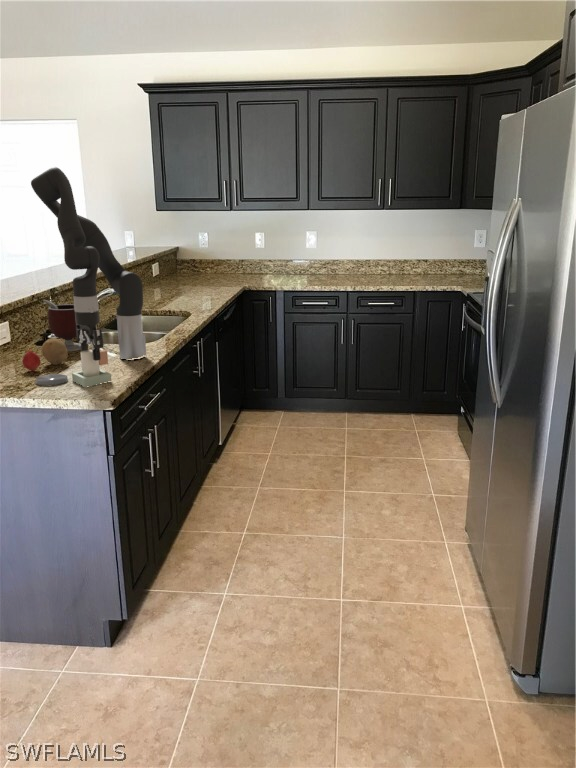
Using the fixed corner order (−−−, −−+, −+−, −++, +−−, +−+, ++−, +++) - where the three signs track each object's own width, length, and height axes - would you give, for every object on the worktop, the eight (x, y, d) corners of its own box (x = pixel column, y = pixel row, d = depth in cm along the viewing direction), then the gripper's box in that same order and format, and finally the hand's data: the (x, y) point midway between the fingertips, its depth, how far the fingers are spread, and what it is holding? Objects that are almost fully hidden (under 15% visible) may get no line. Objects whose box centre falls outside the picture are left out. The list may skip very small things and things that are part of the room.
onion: (23, 374, 208) (21, 351, 206) (23, 369, 213) (21, 348, 211) (41, 372, 210) (39, 350, 208) (41, 368, 215) (38, 346, 213)
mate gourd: (91, 344, 252) (87, 297, 246) (81, 352, 239) (76, 302, 233) (54, 343, 252) (49, 296, 246) (42, 351, 239) (36, 302, 233)
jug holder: (98, 376, 207) (98, 368, 206) (111, 382, 200) (110, 373, 199) (72, 381, 200) (71, 372, 199) (85, 387, 194) (84, 378, 193)
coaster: (60, 375, 207) (60, 372, 206) (72, 382, 200) (72, 378, 199) (31, 381, 200) (30, 377, 200) (42, 387, 193) (42, 384, 193)
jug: (87, 385, 196) (85, 354, 193) (80, 381, 200) (77, 351, 197) (111, 380, 202) (109, 350, 199) (104, 377, 206) (101, 347, 203)
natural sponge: (42, 362, 223) (39, 336, 220) (67, 360, 227) (64, 334, 224) (43, 368, 215) (40, 341, 212) (69, 366, 219) (66, 339, 216)
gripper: (66, 307, 196) (71, 355, 200) (85, 313, 186) (90, 363, 190) (87, 305, 200) (92, 351, 205) (107, 311, 191) (111, 359, 195)
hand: (91, 357), depth 198 cm, fingers open, 8 cm apart
